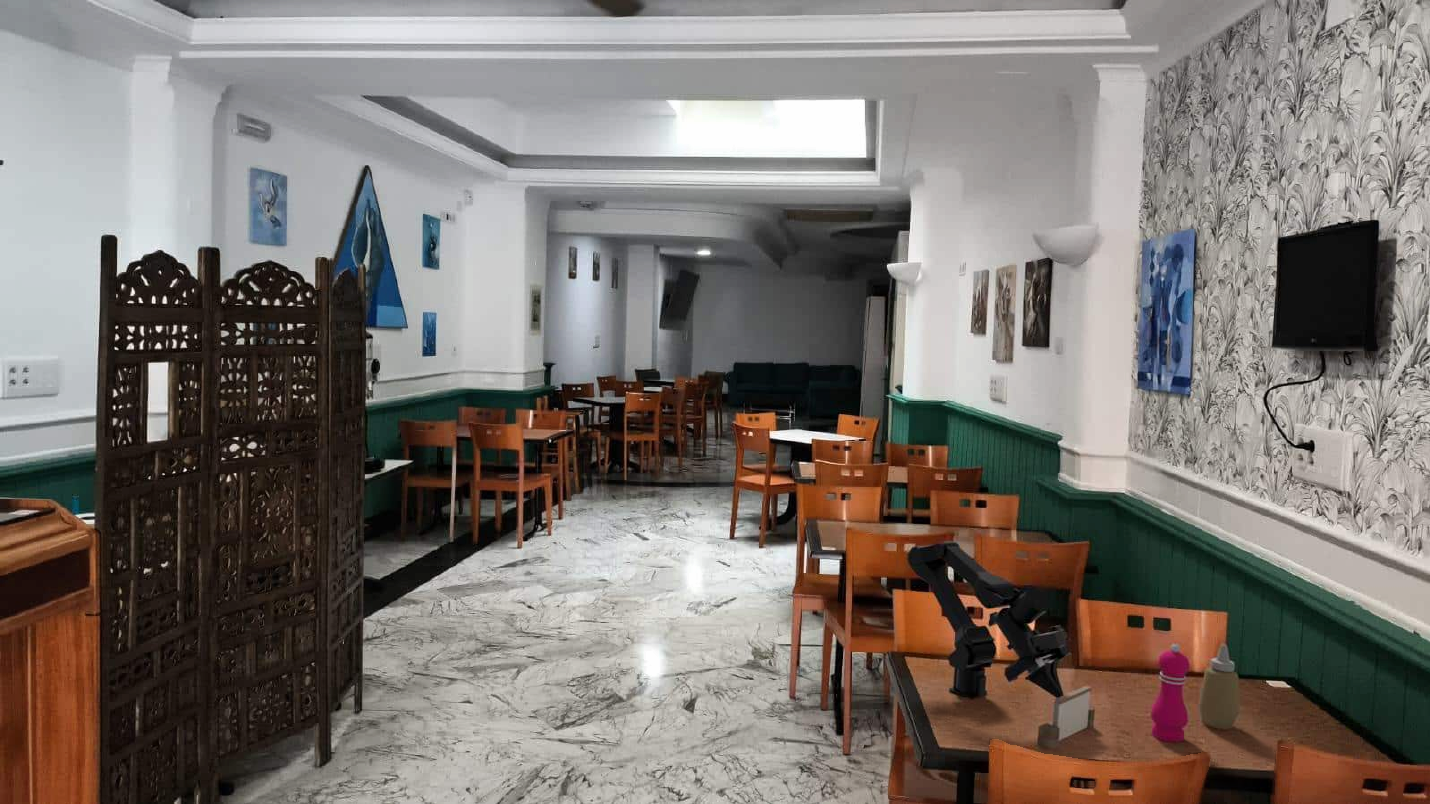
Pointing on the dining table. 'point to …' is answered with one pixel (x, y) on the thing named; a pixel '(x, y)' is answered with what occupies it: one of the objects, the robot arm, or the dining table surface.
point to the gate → (1072, 712)
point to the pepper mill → (1170, 697)
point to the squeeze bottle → (1220, 692)
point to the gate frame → (1057, 732)
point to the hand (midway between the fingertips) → (1061, 698)
